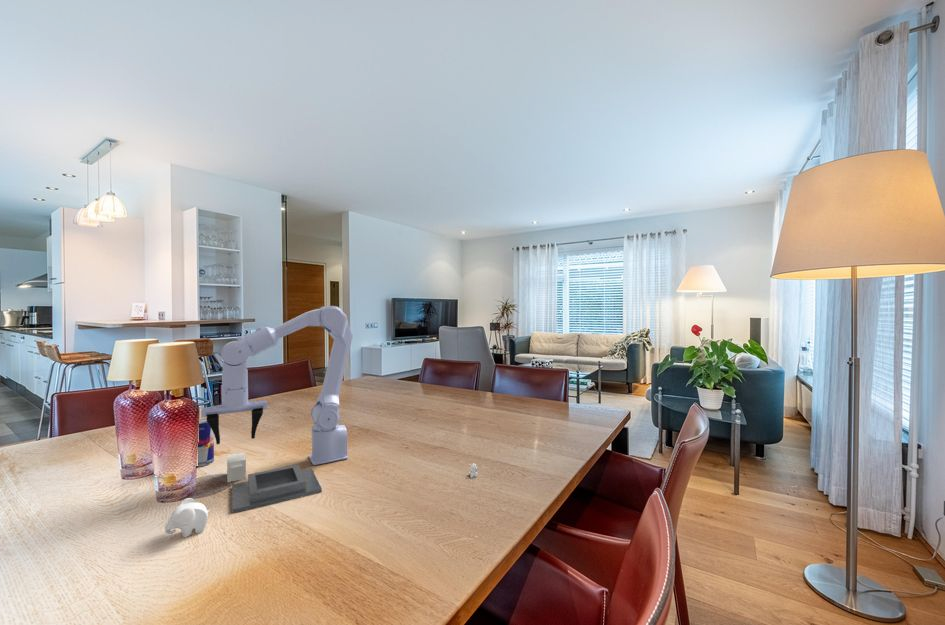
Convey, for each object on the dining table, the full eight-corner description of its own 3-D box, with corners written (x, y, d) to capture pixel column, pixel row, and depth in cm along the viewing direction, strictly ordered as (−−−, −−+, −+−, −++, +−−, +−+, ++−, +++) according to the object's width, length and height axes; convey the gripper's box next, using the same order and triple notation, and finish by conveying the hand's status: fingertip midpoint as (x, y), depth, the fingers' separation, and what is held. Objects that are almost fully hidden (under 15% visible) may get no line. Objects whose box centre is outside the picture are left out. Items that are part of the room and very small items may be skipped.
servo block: (245, 469, 105) (244, 451, 105) (246, 480, 98) (245, 460, 98) (227, 472, 103) (227, 454, 103) (227, 484, 96) (227, 464, 96)
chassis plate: (311, 470, 104) (311, 460, 104) (321, 491, 92) (321, 480, 92) (232, 487, 94) (232, 476, 94) (232, 513, 82) (232, 500, 82)
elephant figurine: (164, 532, 76) (163, 501, 76) (213, 518, 80) (213, 490, 80) (163, 549, 70) (162, 516, 70) (216, 533, 75) (215, 502, 75)
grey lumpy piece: (479, 477, 100) (479, 465, 100) (470, 479, 99) (470, 467, 99) (473, 473, 103) (473, 461, 103) (465, 475, 102) (465, 463, 102)
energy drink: (202, 468, 106) (201, 424, 106) (185, 466, 107) (185, 423, 107) (218, 460, 111) (218, 418, 111) (202, 459, 112) (202, 417, 112)
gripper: (265, 382, 108) (266, 431, 108) (202, 388, 100) (202, 441, 100) (267, 386, 102) (268, 438, 102) (200, 393, 94) (201, 449, 94)
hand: (236, 440), depth 101 cm, fingers open, 7 cm apart
